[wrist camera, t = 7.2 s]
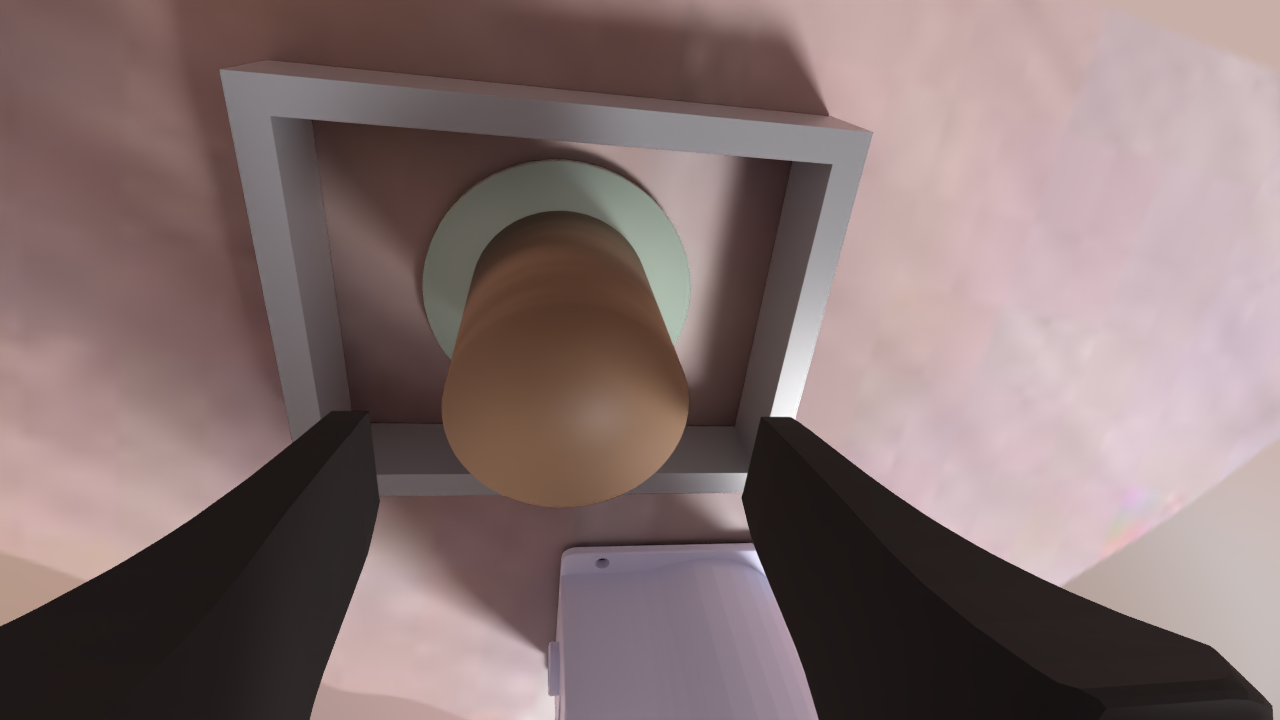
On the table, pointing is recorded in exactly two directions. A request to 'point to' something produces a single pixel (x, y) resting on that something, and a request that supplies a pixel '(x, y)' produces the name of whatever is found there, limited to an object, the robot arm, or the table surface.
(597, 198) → the coaster
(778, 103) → the table surface
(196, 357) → the table surface
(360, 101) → the grey rectangular frame
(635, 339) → the walnut cylinder
